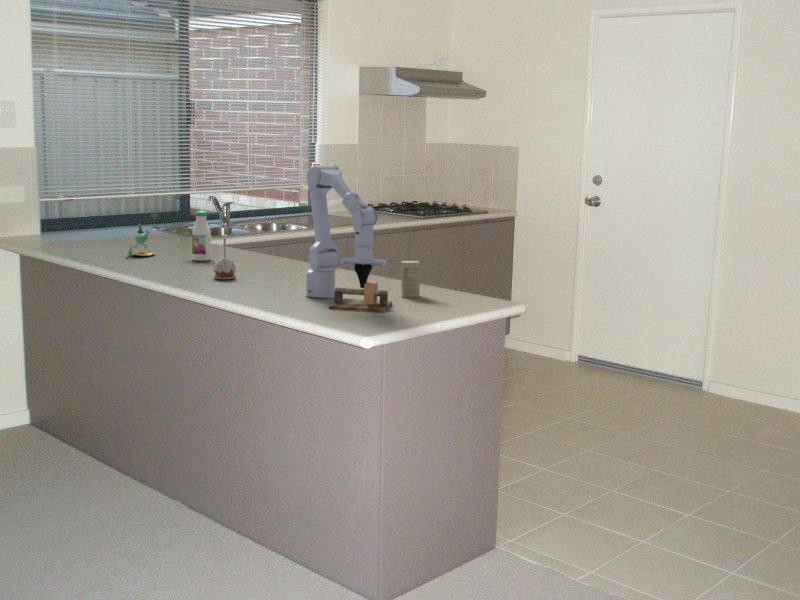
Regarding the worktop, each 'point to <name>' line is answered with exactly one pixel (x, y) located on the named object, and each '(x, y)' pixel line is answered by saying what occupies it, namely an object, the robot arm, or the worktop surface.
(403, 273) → the skincare box
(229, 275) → the decorative ornament
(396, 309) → the worktop surface
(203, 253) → the milk bottle
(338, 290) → the pipe rig
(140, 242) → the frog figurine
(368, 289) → the collar
